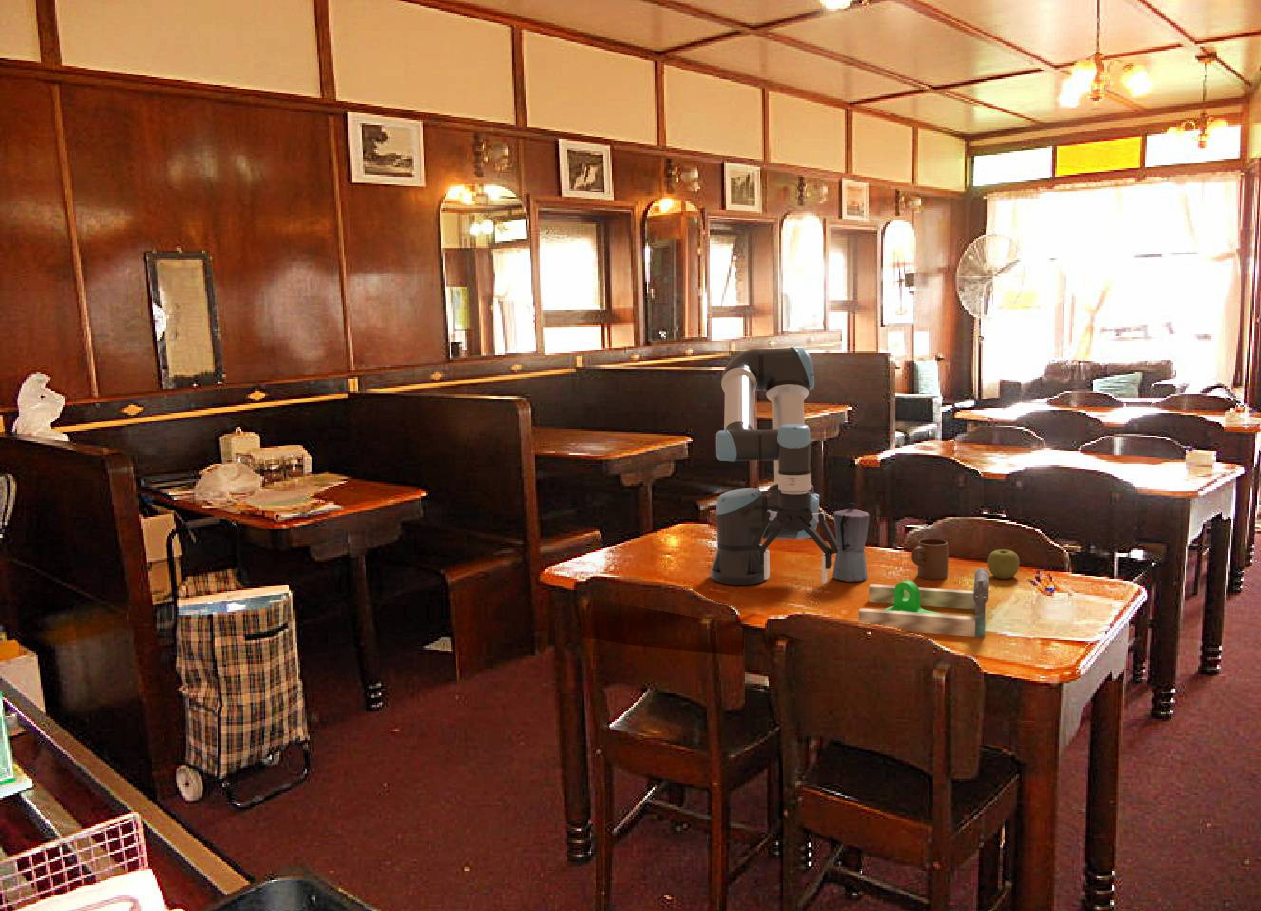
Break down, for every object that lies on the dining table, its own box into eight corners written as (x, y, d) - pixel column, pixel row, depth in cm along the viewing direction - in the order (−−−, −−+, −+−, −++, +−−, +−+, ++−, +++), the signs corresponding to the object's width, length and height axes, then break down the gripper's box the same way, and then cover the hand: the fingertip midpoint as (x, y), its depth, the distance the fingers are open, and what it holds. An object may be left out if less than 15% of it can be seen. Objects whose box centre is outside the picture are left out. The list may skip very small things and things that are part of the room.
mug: (924, 586, 234) (924, 549, 233) (900, 580, 240) (900, 544, 239) (954, 577, 241) (954, 541, 239) (929, 571, 247) (930, 536, 246)
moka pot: (874, 572, 247) (874, 499, 244) (863, 589, 234) (863, 511, 231) (838, 569, 251) (838, 497, 248) (825, 585, 238) (824, 509, 235)
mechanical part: (883, 617, 212) (883, 583, 211) (898, 611, 216) (898, 578, 215) (930, 630, 203) (931, 594, 202) (945, 623, 207) (945, 588, 206)
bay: (857, 630, 204) (857, 573, 202) (870, 599, 225) (870, 547, 223) (987, 641, 195) (988, 581, 193) (987, 608, 215) (989, 554, 213)
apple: (982, 579, 238) (982, 552, 237) (994, 572, 244) (995, 545, 243) (1012, 584, 233) (1012, 556, 232) (1024, 577, 239) (1024, 550, 238)
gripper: (738, 492, 218) (739, 580, 220) (846, 495, 209) (847, 587, 211) (746, 486, 225) (747, 572, 227) (851, 489, 216) (851, 579, 218)
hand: (795, 580), depth 219 cm, fingers open, 13 cm apart
